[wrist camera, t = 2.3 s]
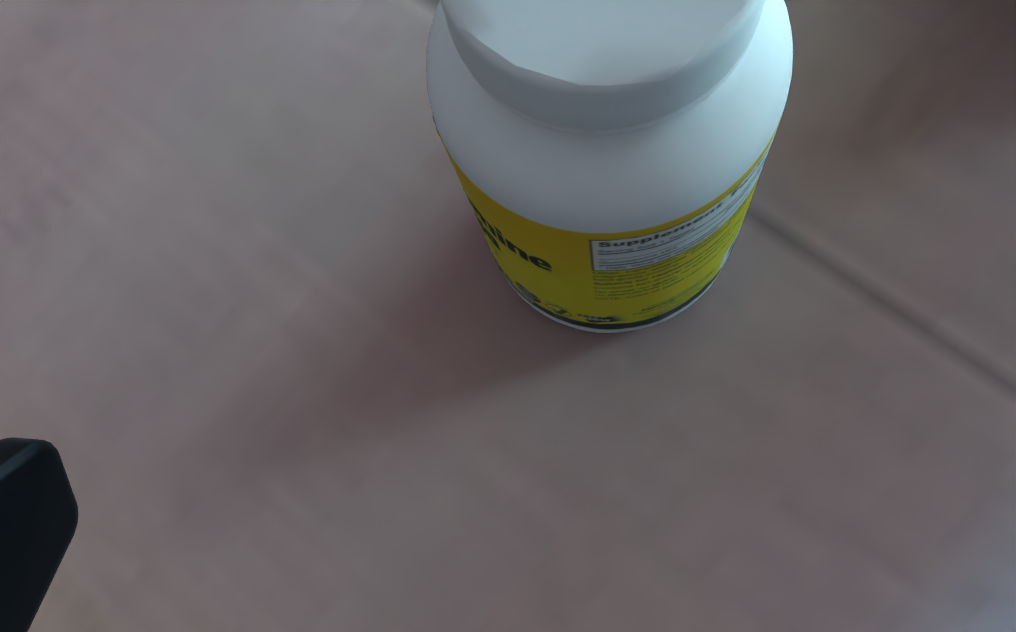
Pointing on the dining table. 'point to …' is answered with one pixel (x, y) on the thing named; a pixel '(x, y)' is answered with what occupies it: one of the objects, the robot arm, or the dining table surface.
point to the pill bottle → (609, 142)
